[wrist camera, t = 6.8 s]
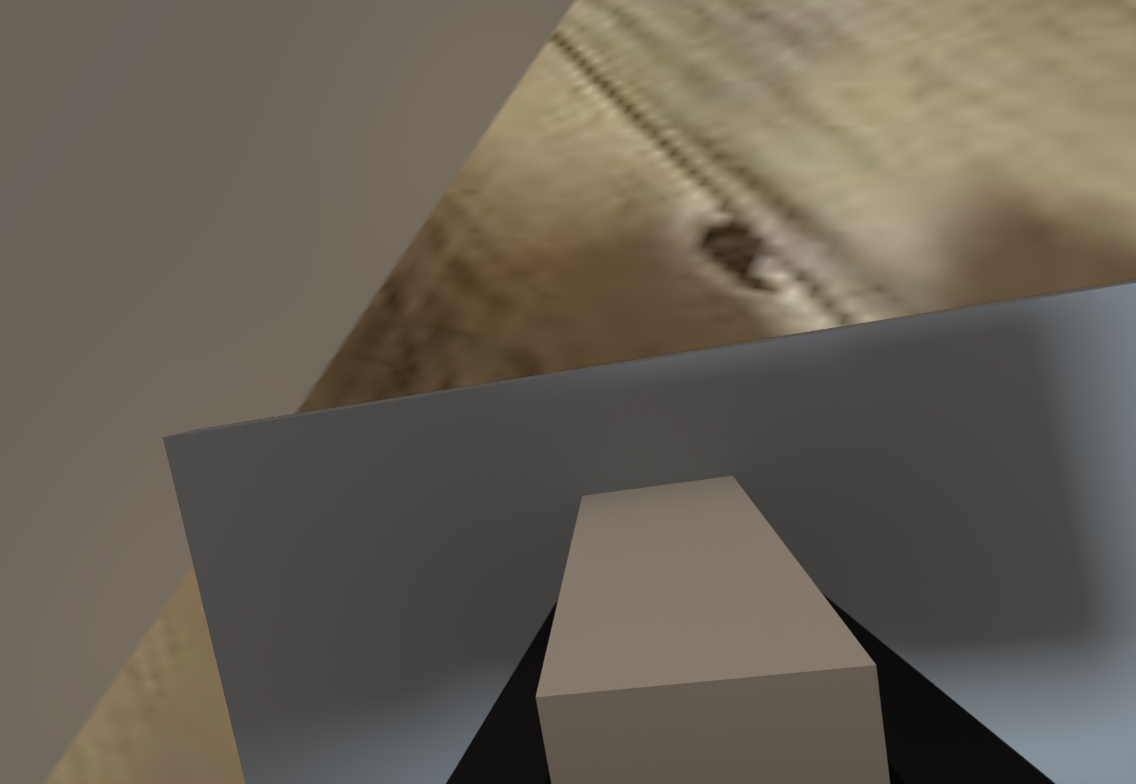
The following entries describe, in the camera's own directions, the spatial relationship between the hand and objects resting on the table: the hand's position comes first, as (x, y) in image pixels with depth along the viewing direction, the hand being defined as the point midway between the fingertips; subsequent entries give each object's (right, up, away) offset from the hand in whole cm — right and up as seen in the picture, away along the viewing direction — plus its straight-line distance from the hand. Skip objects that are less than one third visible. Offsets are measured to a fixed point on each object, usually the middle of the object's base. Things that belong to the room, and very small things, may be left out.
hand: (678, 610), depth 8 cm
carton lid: (0, -1, +2) cm, 3 cm away
